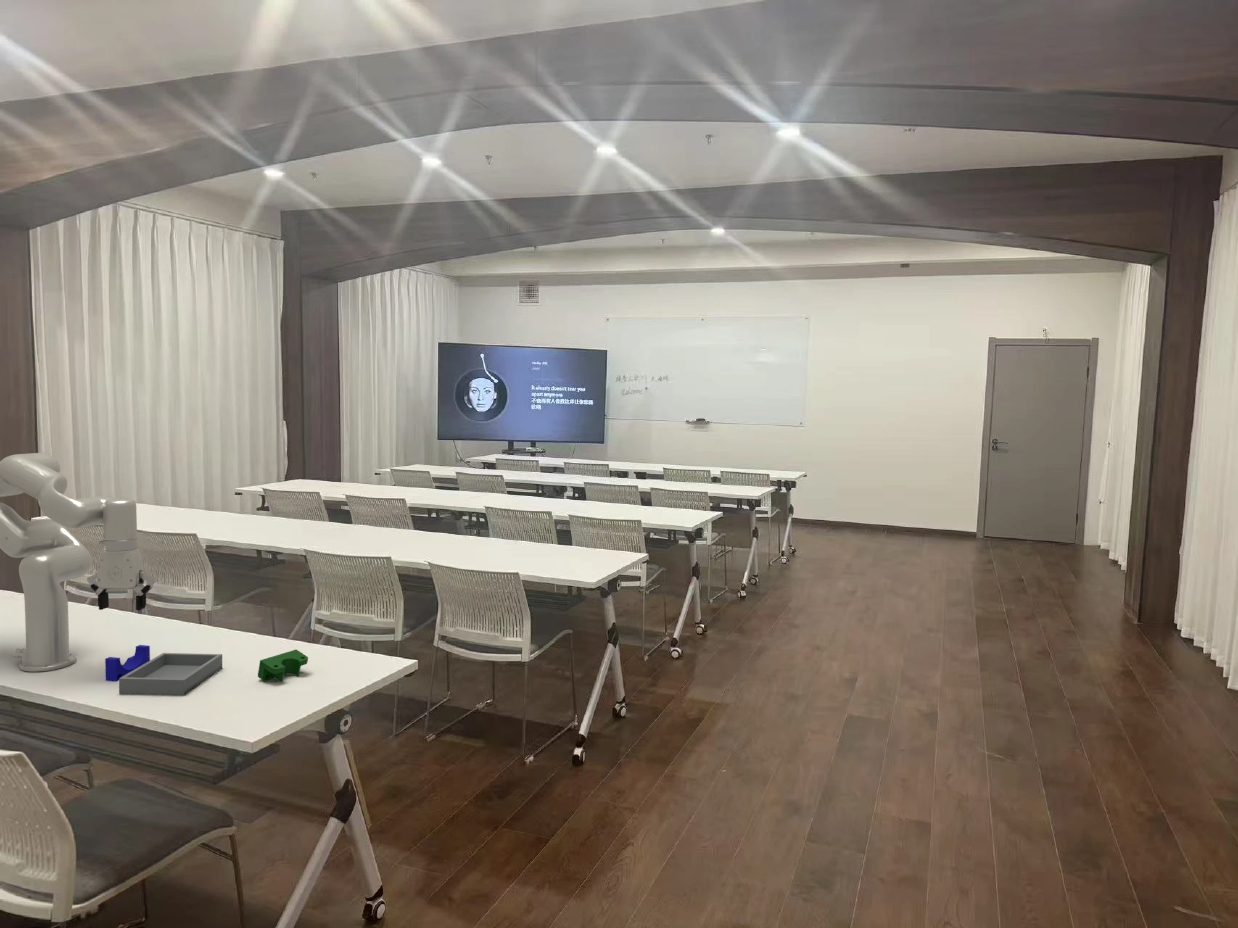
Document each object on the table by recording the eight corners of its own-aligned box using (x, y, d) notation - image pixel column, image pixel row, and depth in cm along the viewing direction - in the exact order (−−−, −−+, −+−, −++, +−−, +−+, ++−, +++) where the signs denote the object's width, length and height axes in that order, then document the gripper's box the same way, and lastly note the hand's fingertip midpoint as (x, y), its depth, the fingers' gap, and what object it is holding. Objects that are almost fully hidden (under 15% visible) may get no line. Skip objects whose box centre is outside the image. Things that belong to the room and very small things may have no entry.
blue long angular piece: (135, 665, 218) (135, 644, 217) (150, 666, 217) (149, 645, 217) (100, 680, 206) (100, 658, 205) (115, 682, 205) (115, 659, 205)
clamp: (275, 698, 209) (268, 674, 204) (261, 688, 211) (254, 664, 207) (313, 670, 217) (307, 646, 213) (299, 661, 220) (293, 637, 215)
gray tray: (119, 694, 197) (118, 678, 197) (163, 667, 217) (163, 652, 216) (184, 695, 197) (184, 679, 197) (222, 668, 217) (222, 654, 217)
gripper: (78, 547, 205) (80, 612, 206) (145, 548, 205) (147, 613, 207) (96, 542, 212) (98, 604, 214) (161, 543, 213) (163, 605, 214)
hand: (122, 608), depth 210 cm, fingers open, 9 cm apart
